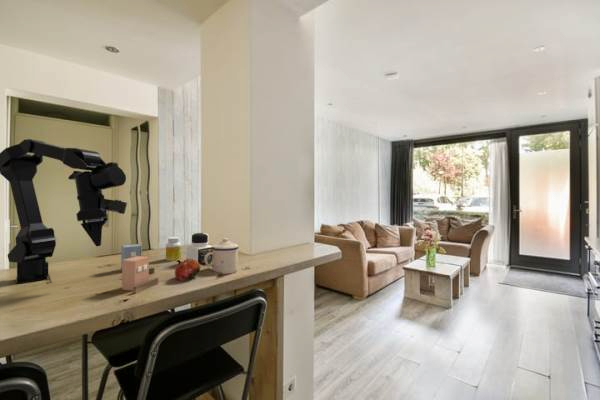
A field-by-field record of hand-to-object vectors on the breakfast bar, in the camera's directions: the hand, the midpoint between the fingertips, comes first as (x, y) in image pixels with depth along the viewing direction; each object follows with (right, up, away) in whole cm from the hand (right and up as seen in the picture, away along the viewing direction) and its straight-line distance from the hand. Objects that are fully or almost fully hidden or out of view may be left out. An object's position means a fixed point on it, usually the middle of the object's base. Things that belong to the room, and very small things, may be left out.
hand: (98, 246), depth 79 cm
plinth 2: (+3, -12, +12) cm, 17 cm away
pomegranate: (+23, -12, +7) cm, 27 cm away
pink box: (+12, -11, -2) cm, 17 cm away
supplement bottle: (+8, -12, +30) cm, 33 cm away
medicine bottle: (+19, -12, +27) cm, 35 cm away
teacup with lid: (+30, -12, +18) cm, 37 cm away
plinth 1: (+10, -12, -2) cm, 16 cm away
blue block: (0, -10, +15) cm, 18 cm away
